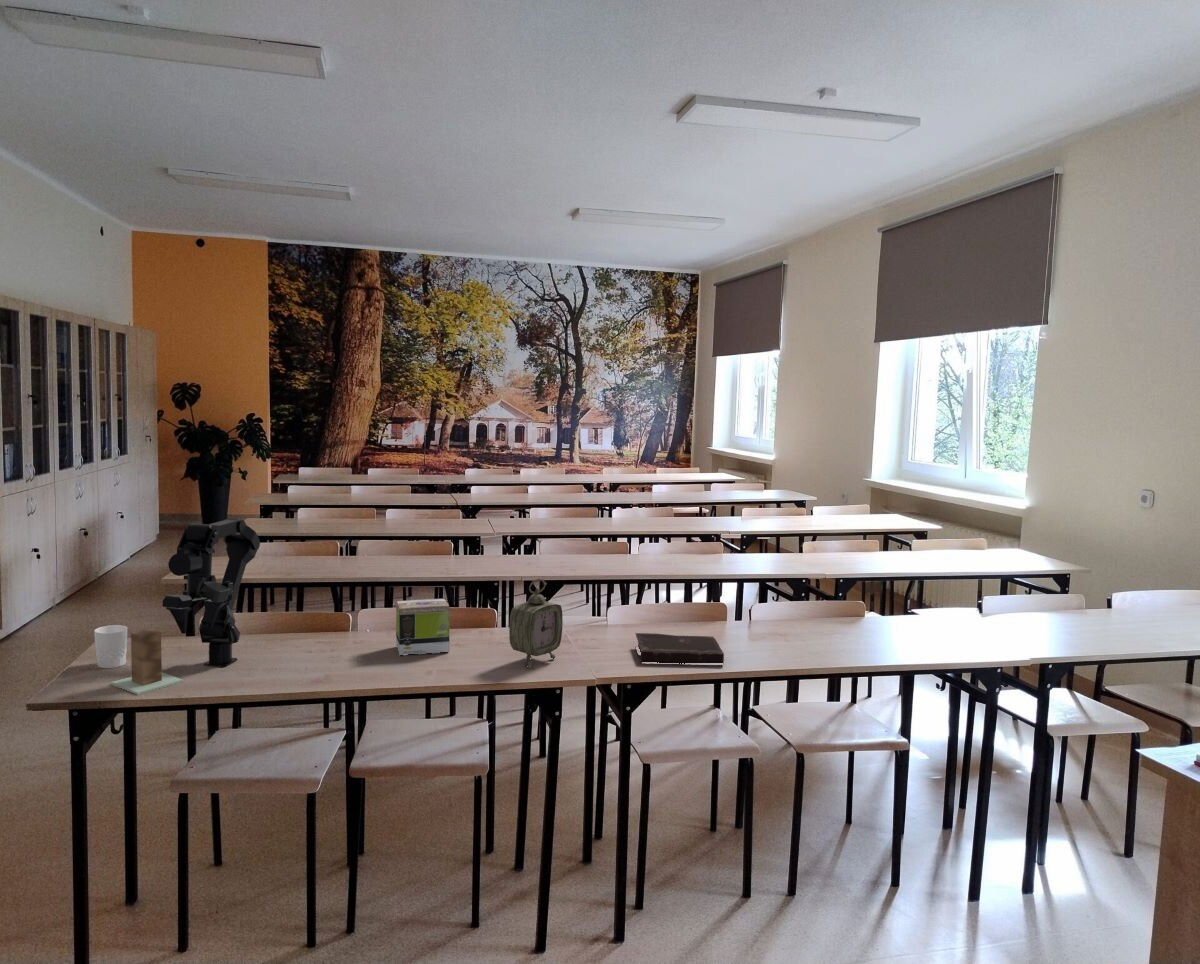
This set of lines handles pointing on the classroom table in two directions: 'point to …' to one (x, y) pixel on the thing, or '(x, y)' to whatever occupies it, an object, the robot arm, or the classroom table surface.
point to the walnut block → (146, 656)
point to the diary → (679, 649)
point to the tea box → (422, 626)
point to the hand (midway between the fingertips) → (197, 630)
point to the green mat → (140, 689)
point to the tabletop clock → (536, 626)
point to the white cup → (111, 646)
